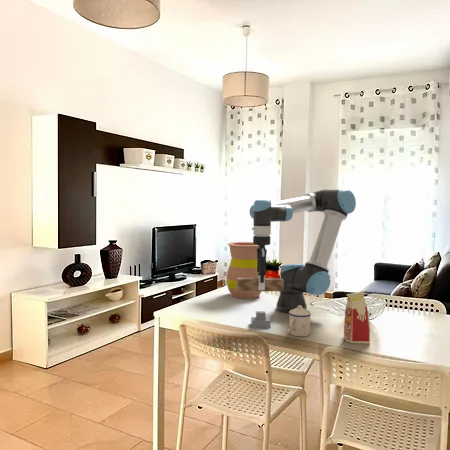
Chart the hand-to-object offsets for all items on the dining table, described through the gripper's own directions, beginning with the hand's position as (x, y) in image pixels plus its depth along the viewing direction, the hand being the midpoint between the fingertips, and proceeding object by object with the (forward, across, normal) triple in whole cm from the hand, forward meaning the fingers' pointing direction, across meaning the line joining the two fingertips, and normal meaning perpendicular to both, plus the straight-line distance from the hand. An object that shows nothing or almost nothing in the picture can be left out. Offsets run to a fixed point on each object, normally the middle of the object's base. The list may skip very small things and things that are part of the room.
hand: (260, 288), depth 189 cm
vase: (+17, -58, -2) cm, 60 cm away
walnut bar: (+1, 0, 0) cm, 1 cm away
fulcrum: (+17, 0, 0) cm, 17 cm away
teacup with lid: (+17, +12, +14) cm, 25 cm away
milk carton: (+17, +19, +36) cm, 44 cm away
